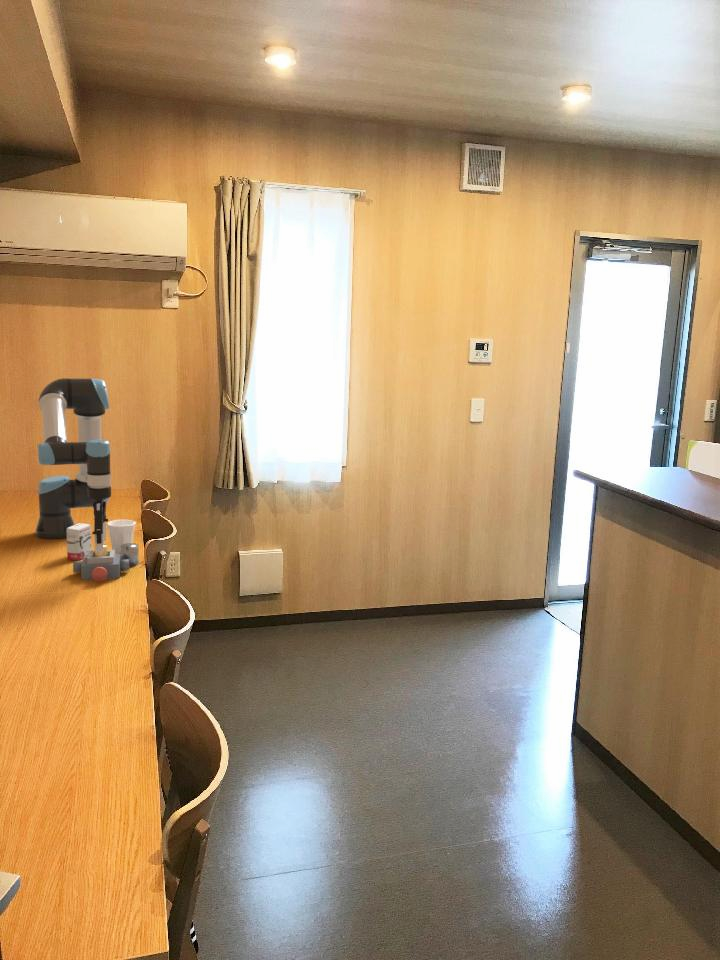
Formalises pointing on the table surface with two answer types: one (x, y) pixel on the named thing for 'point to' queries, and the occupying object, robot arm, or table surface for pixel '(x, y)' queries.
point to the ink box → (78, 541)
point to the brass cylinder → (102, 552)
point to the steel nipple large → (130, 553)
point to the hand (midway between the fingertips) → (101, 546)
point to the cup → (120, 533)
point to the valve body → (101, 566)
